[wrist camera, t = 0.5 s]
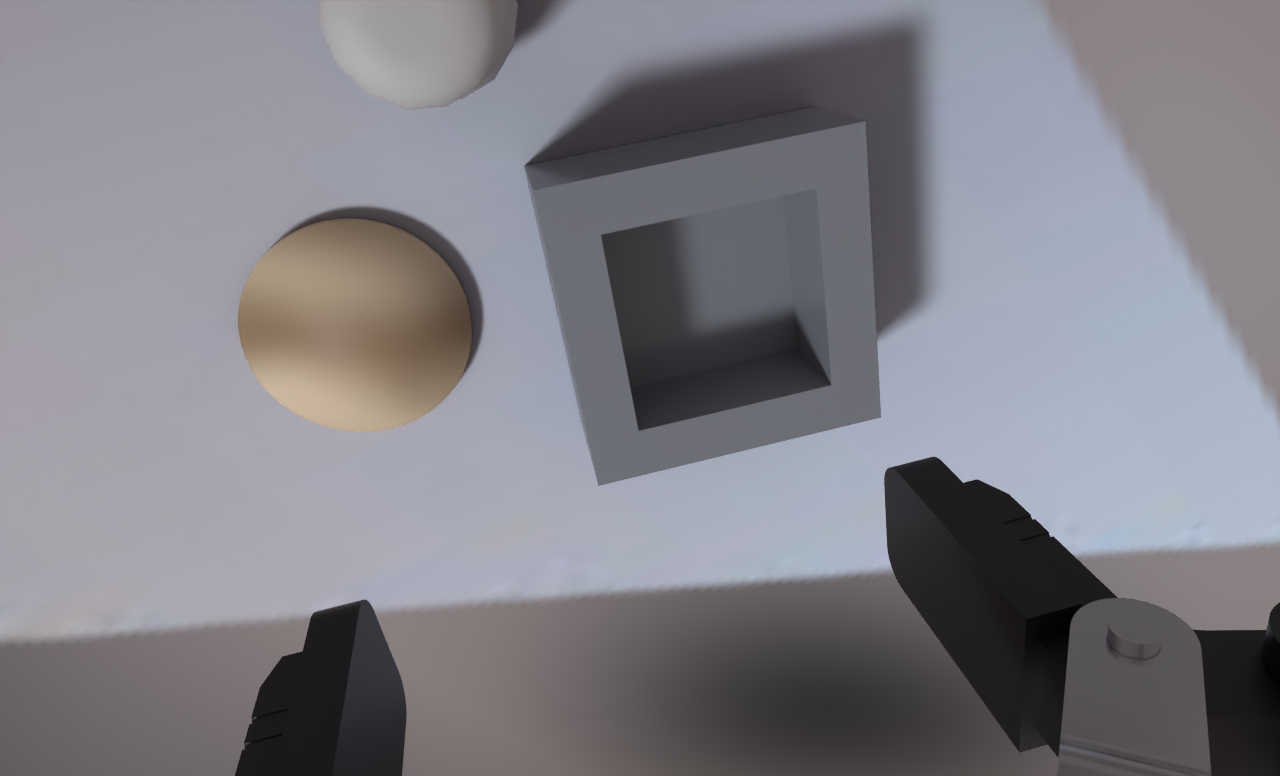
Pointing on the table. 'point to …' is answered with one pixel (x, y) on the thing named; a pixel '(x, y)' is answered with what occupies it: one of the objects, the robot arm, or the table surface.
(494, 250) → the table surface
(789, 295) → the well
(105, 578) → the table surface
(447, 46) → the salt shaker
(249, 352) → the cork coaster
